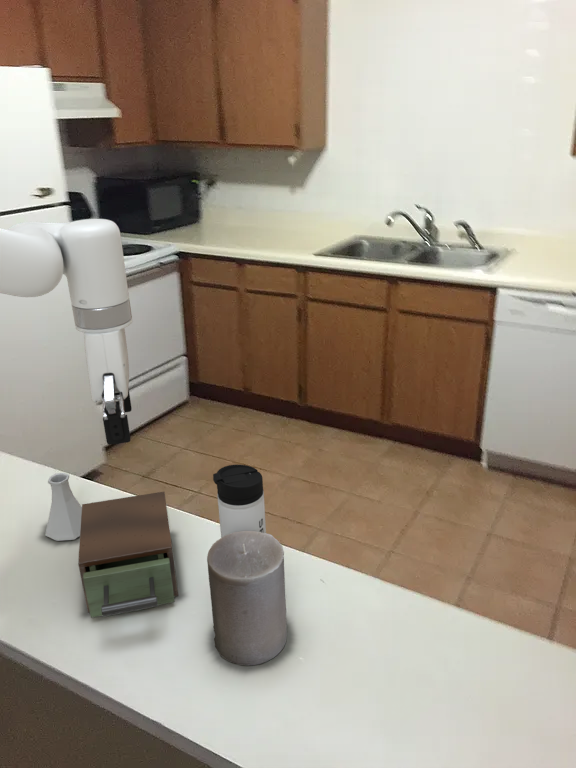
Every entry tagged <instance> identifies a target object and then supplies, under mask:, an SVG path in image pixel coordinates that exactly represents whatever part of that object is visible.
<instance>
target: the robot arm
mask: <svg viewBox="0 0 576 768" xmlns="http://www.w3.org/2000/svg"><path fill="white" fill-rule="evenodd" d="M122 243H123V242H122V236H121V231H120V228H119V226H118V225H117V223H116V222H115V221H113V220H110V219H106V218H86V219H85V218H84V219H79V220H73V221H70V222H48V221H47V222H43V221H23V222H18V223H15V224H14V225H11V226H10V227H9V228H7V229H5V228H1V227H0V294H3V295H8V296H12V297H17V298H18V297H19V298H37V297H42V296H44V295H47V294H49V293H50V292H52V291H53V290H54V289H55V288H56V287H57V286H58V285H59V284H60V282H61V280H62V277H63V275H64V276H65V277H66V280H67V286H68V292H69V297H70V298H69V299H70V303H71V311H72V315H73V321H74V326H75V329H76V330H77V332H80V333H83V341H84V352H85V361H86V368H87V375H88V383H89V389H90V398H91V401H92V402H93V403H96V404H97V402H100V401H102V402H101V403H102V414H103V417H102V422H103V427H104V428H103V429H104V434H105V435H104V436H105V441H106V444H107V445H110V446H111V445H118V444H125V443H130V442H131V432H130V424H129V418H128V414H126V413H130V412H132V402H131V394H130V388H129V383H130V365H129V364H130V363H129V353H128V346H127V345H128V344H127V336H126V330H125V328H128V327H129V326H130V325H132V324H133V315H132V309H131V308H132V307H131V303H130V294H129V286H128V280H127V279H128V278H127V272H126V265H125V256H124V250H123V244H122Z"/></svg>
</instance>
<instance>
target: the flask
mask: <svg viewBox="0 0 576 768" xmlns="http://www.w3.org/2000/svg"><path fill="white" fill-rule="evenodd" d="M69 480H70V474H68V473H65V472H57V473H54V474H53V475H51V476H49V478H48V480H47V484H48V485H50V489H51V503H50V508H49V509H50V510H49V514H48V519H47V524H46V528H45V533H44V536H45V537H47V538H49V539H52V540H54V541H57V542H59V541H71V540H76V539H78V538H80V529H81V514H82V505H81V504H80V502H79V501H78V499H77V498H76V497H75V495H74V493H73V491H72V489H71V486H70V483H69Z"/></svg>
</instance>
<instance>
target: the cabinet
mask: <svg viewBox="0 0 576 768" xmlns="http://www.w3.org/2000/svg"><path fill="white" fill-rule="evenodd" d="M167 506H168V505H167V499H166V493H165V491H159V492H151V493H146V494H145V493H144V494H139V495H133V496H126V497H121V498H114V499H113V498H112V499H108V500H101V501H95V502H89V503H88V502H87V503H82V505H81V507H82V514H81V529H80V536H79V544H78V546H79V547H78V559H77V560H78V561H77V565H78V569H79V574H80V575H79V576H80V580H81V585H82V589H83V596H84V599H85V604H86V611H87V613H89V614H90V610H89V605H88V600H87V595H86V590H85V585H84V580H83V573H86V572H90V568H89V566H93V565H99V564H105V563H110V562H116V561H122V560H127V559H133V558H139V557H144V556H150V555H156V554H161V553H164V559H165V558H169V562H170V569H171V577H172V585H173V592H174V597H178V596H179V590H178V583H177V575H176V567H175V559H174V551H173V544H172V537H171V529H170V521H169V515H168V507H167Z"/></svg>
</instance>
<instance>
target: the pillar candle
mask: <svg viewBox="0 0 576 768" xmlns="http://www.w3.org/2000/svg"><path fill="white" fill-rule="evenodd" d="M283 547H284V546H283V545H282V544H281V542H280V540H278V539H276V537H274V535H272V534H270V533H267V532H266V534H265V533H261V532H256V531H240V532H234V533H231V534H228V535H226V536H224V537H222V538H221V537H220V538H219V539H217V540H216V541H215V542H214V543H212V545H211V546H210V548H209V550H208V552H207V556H206V562H207V573H208V584H209V593H210V602H211V603H210V604H211V616H212V623H213V625H212V626H213V632H214V638H213V641H214V642H213V643H214V648H215V649H216V650H217V651H218V653H219V656H221V657H222V658H224V659H225V660H226V661H228V662H230V663H232V664H235V665H236V664H237V665H240V666H255V665H256V666H257V665H260V664H264V663H267V662H268V661H270V660H272V659H274V658H276V656H278V655H279V654H280V653H281V652H282V650H283V649H284V647H285V645H286V643H287V639H288V631H287V629H288V628H287V602H286V601H287V599H286V598H287V597H286V578H285V575H286V574H285V551H284V548H283Z"/></svg>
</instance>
